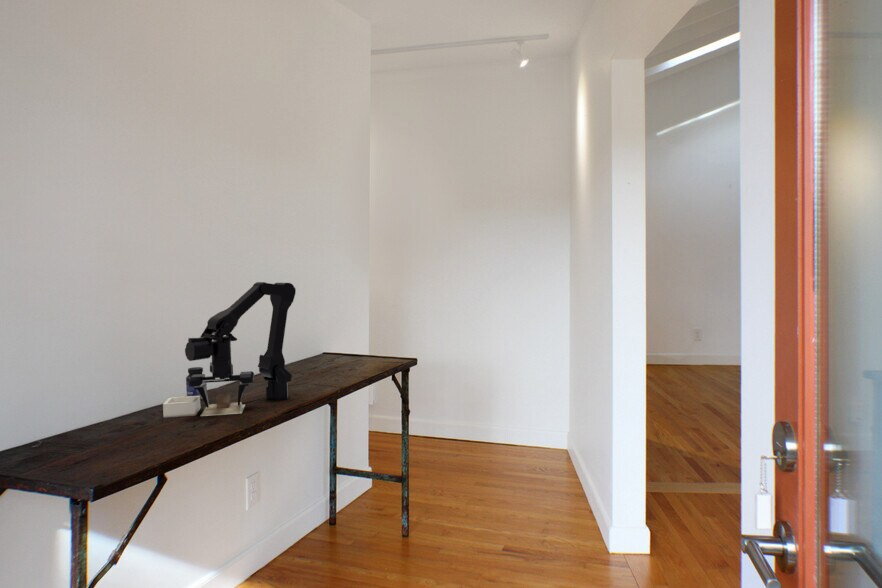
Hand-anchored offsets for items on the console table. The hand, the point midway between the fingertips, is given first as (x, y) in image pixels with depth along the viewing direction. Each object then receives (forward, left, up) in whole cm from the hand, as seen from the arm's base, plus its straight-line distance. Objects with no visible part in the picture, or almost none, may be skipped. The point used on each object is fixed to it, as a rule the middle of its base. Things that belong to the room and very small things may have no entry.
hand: (223, 406), depth 191 cm
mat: (0, 0, -2) cm, 2 cm away
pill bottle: (+11, -19, -2) cm, 22 cm away
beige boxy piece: (+12, 0, -2) cm, 12 cm away
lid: (0, 0, -1) cm, 1 cm away
